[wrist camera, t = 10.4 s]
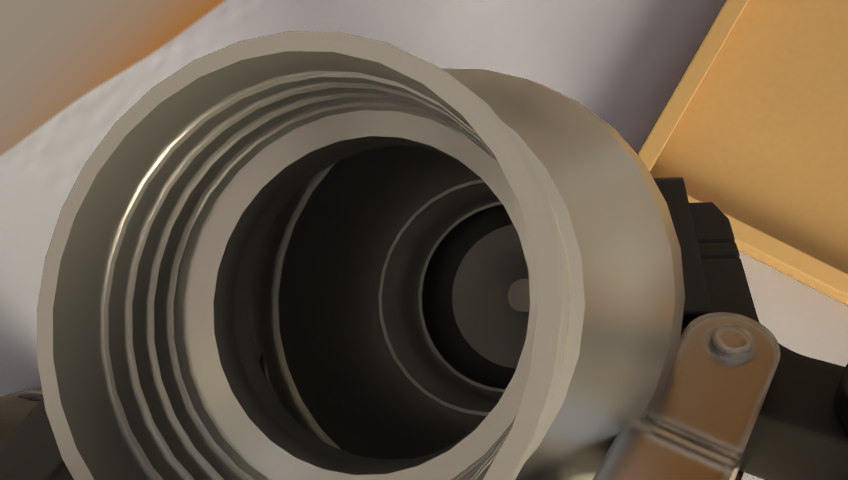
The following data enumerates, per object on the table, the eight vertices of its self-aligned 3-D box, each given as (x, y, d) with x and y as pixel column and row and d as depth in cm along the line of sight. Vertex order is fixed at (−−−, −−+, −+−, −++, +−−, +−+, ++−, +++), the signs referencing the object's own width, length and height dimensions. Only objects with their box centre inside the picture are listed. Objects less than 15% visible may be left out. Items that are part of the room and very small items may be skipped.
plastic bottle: (403, 318, 24) (-269, 427, 5) (504, 170, 24) (191, -343, 5) (545, 424, 23) (372, 1166, 4) (656, 268, 22) (1160, 126, 3)
